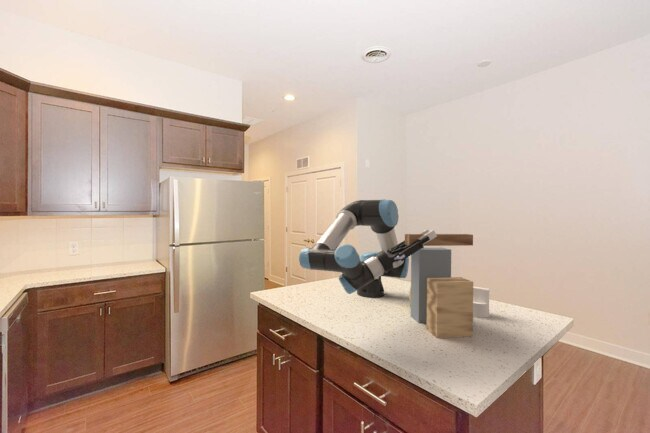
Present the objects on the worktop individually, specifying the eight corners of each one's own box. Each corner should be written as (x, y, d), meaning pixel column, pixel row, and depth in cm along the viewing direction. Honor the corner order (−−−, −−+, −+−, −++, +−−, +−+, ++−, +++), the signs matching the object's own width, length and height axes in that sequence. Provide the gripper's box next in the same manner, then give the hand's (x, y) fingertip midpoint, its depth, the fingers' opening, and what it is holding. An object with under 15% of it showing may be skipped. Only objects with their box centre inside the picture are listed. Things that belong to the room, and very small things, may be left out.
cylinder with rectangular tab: (463, 314, 135) (463, 287, 135) (470, 309, 142) (470, 284, 142) (485, 319, 129) (486, 291, 129) (491, 314, 136) (491, 287, 136)
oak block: (426, 329, 117) (427, 277, 117) (460, 327, 119) (460, 277, 119) (436, 337, 110) (437, 282, 109) (472, 336, 111) (473, 281, 111)
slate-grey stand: (410, 316, 132) (411, 247, 132) (440, 315, 134) (441, 247, 134) (418, 322, 124) (419, 250, 124) (450, 321, 126) (451, 249, 126)
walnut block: (404, 244, 114) (404, 234, 114) (466, 244, 117) (466, 234, 117) (409, 245, 110) (409, 234, 110) (472, 245, 113) (473, 234, 113)
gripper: (376, 269, 119) (425, 239, 122) (392, 278, 102) (448, 243, 105) (367, 252, 119) (417, 223, 121) (381, 259, 102) (438, 224, 104)
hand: (431, 232), depth 113 cm, fingers closed on walnut block, 4 cm apart
